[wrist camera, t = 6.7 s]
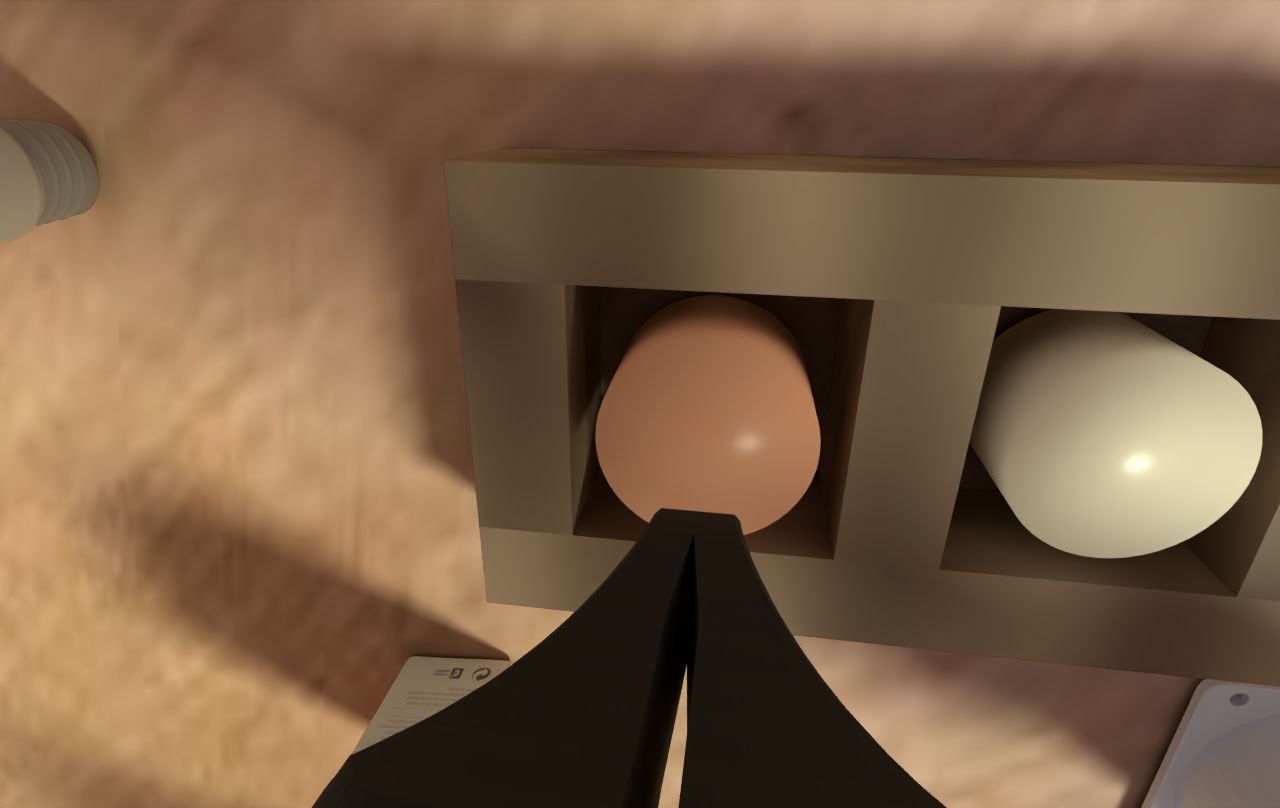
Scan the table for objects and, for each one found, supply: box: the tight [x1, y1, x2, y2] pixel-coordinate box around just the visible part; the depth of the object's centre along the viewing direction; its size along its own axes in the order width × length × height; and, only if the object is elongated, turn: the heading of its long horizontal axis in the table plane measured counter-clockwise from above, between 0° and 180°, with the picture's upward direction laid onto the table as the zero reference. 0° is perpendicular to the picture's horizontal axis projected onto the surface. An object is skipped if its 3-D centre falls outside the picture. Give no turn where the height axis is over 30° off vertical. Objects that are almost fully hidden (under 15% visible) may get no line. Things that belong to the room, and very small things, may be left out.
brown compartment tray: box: [444, 148, 1280, 687], centre depth 17 cm, size 21×12×4 cm, turn 90°
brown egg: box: [595, 295, 821, 535], centre depth 17 cm, size 5×5×4 cm
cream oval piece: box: [969, 309, 1262, 558], centre depth 17 cm, size 5×5×4 cm
